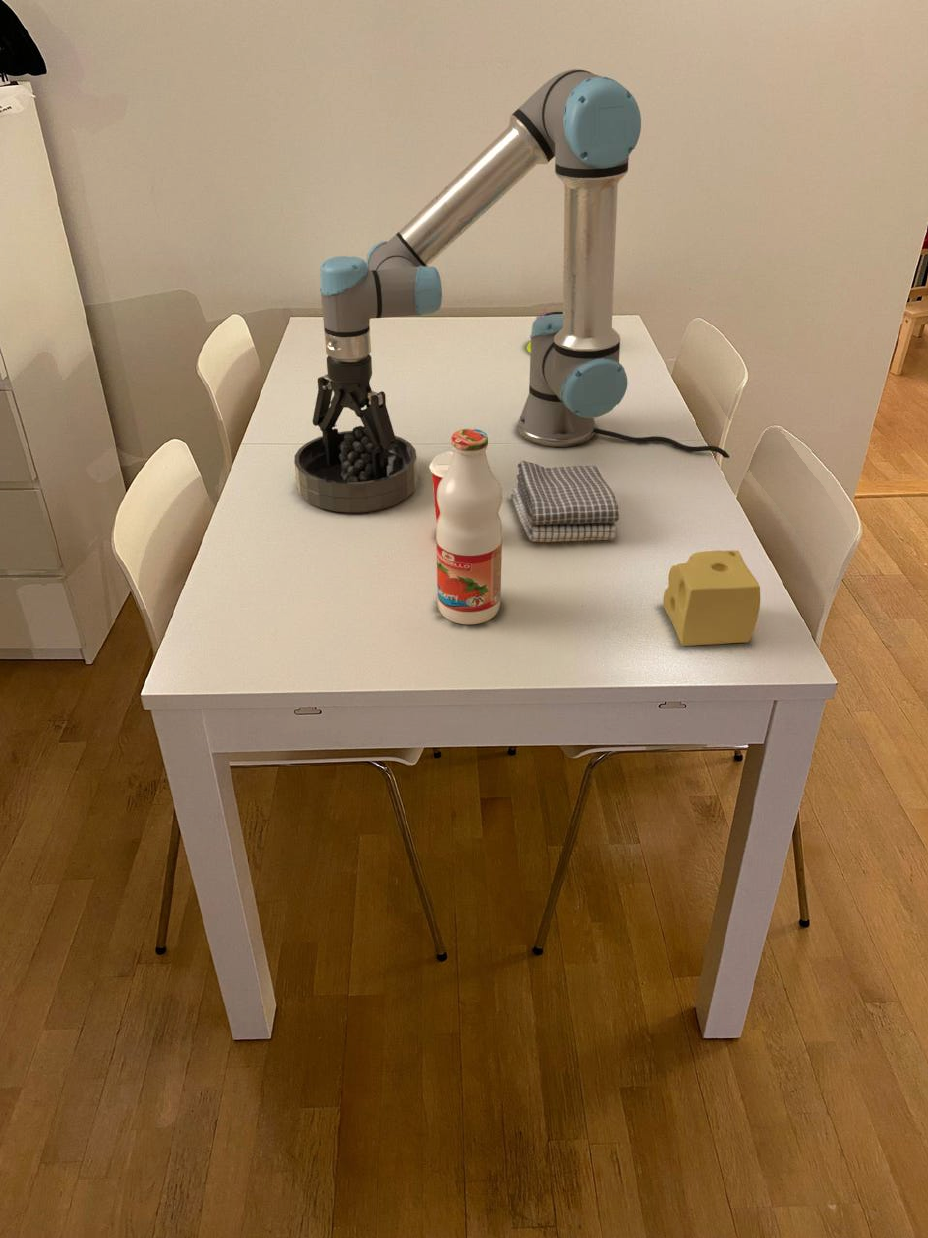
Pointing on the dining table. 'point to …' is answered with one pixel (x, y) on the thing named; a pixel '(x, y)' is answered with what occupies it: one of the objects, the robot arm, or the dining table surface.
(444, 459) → the paper cup
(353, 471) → the fruit
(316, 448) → the bowl
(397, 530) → the dining table surface
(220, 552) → the dining table surface
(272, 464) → the dining table surface
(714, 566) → the cheese
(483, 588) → the fruit juice
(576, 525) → the towel
